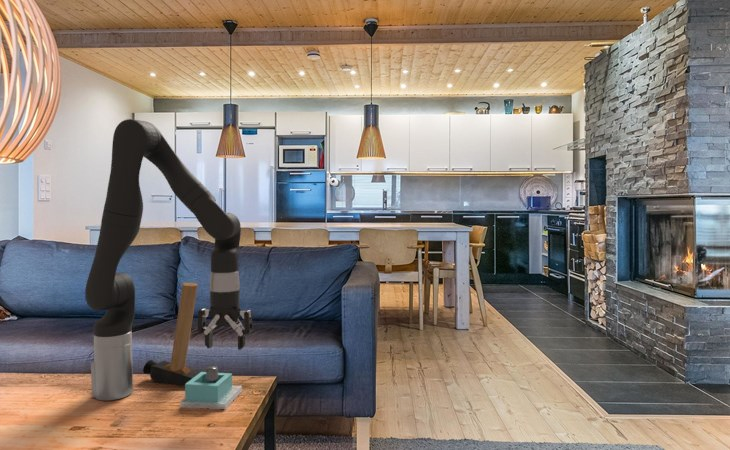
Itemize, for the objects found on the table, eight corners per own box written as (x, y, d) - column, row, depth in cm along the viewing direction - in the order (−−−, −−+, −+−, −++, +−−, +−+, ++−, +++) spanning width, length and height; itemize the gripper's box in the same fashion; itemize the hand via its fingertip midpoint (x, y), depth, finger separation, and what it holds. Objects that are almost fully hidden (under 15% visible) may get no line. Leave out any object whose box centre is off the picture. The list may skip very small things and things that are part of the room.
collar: (185, 399, 126) (185, 384, 126) (201, 385, 135) (201, 371, 134) (217, 401, 125) (217, 386, 124) (232, 387, 133) (232, 373, 133)
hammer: (211, 389, 142) (227, 290, 139) (201, 395, 137) (217, 294, 134) (153, 370, 146) (167, 275, 143) (141, 376, 142) (156, 277, 139)
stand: (180, 407, 124) (179, 375, 124) (200, 389, 136) (200, 359, 136) (225, 409, 123) (224, 377, 123) (241, 391, 135) (241, 361, 134)
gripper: (192, 290, 125) (193, 351, 125) (245, 291, 123) (246, 354, 124) (205, 284, 132) (205, 343, 133) (255, 286, 131) (255, 345, 131)
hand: (225, 348), depth 128 cm, fingers open, 8 cm apart
